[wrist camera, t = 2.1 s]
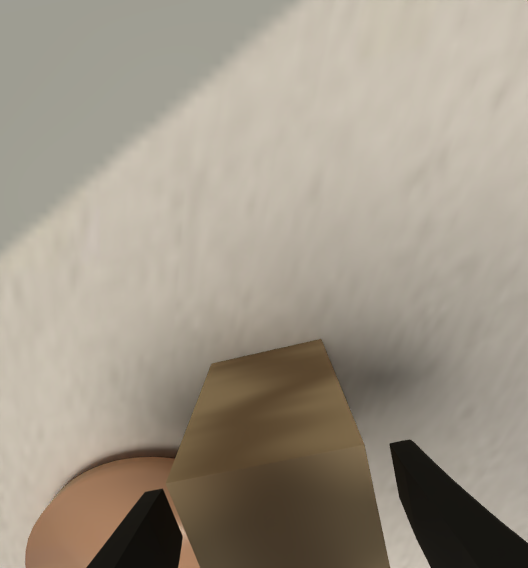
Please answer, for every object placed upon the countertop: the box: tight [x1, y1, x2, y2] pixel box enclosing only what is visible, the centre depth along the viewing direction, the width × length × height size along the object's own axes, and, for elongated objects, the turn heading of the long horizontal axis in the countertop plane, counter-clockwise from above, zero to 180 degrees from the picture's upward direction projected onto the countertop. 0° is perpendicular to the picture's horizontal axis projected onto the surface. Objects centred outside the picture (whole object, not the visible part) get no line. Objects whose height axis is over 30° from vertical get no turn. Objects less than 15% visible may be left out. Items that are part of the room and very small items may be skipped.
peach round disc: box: [25, 457, 200, 568], centre depth 15 cm, size 13×13×1 cm
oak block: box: [166, 339, 390, 568], centre depth 11 cm, size 5×5×6 cm
